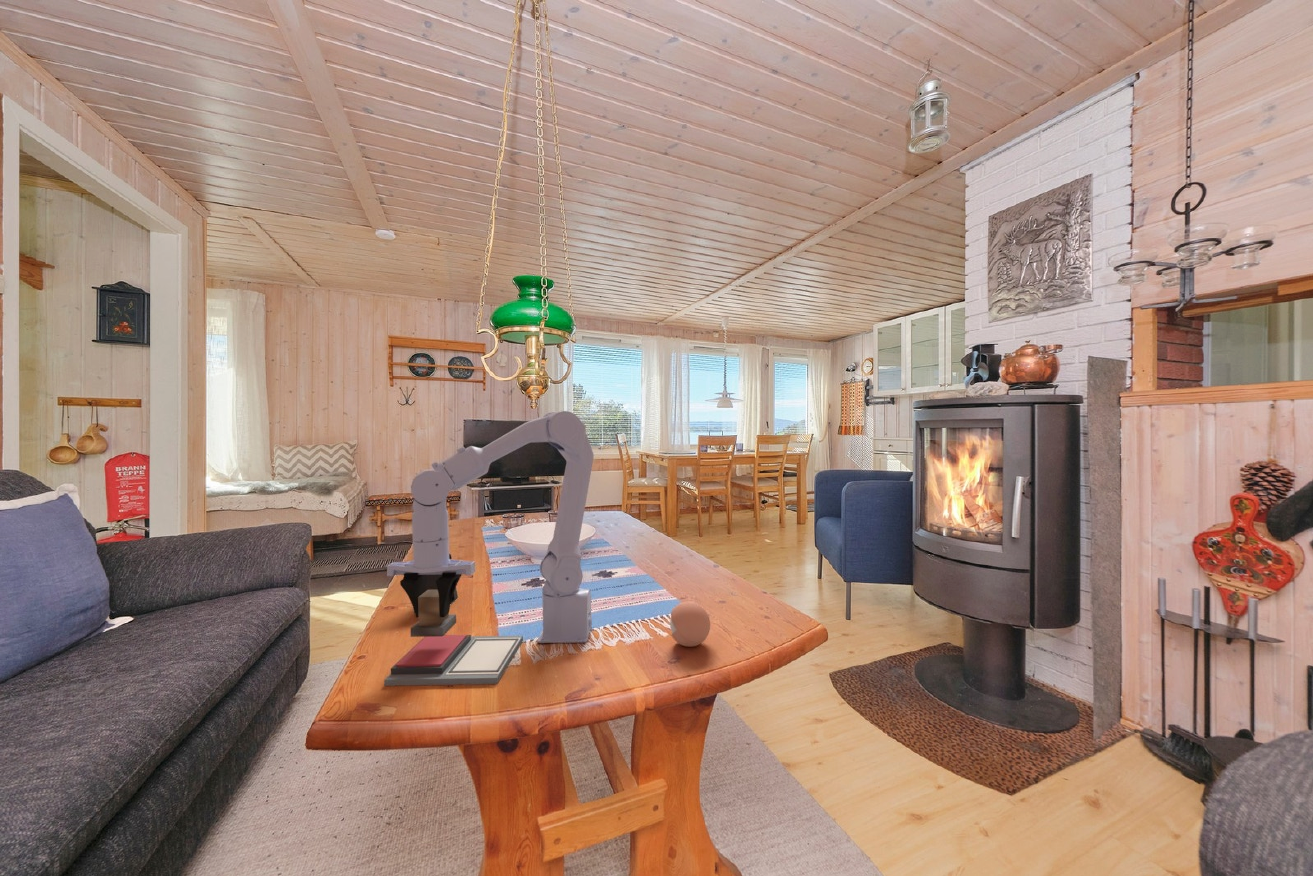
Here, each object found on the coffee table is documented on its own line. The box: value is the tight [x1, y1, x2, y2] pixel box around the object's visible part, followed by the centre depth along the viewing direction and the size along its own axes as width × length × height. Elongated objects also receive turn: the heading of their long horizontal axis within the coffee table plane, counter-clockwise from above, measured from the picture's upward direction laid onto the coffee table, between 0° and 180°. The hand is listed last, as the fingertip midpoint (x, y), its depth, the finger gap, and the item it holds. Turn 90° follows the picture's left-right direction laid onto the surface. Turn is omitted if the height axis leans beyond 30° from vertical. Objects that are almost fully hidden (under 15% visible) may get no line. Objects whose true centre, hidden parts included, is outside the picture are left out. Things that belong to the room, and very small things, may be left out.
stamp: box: [409, 590, 457, 638], centre depth 82 cm, size 6×6×6 cm
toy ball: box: [669, 600, 711, 648], centre depth 87 cm, size 8×8×8 cm
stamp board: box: [383, 634, 524, 687], centre depth 82 cm, size 18×15×2 cm
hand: (432, 615), depth 82 cm, fingers closed on stamp, 4 cm apart
